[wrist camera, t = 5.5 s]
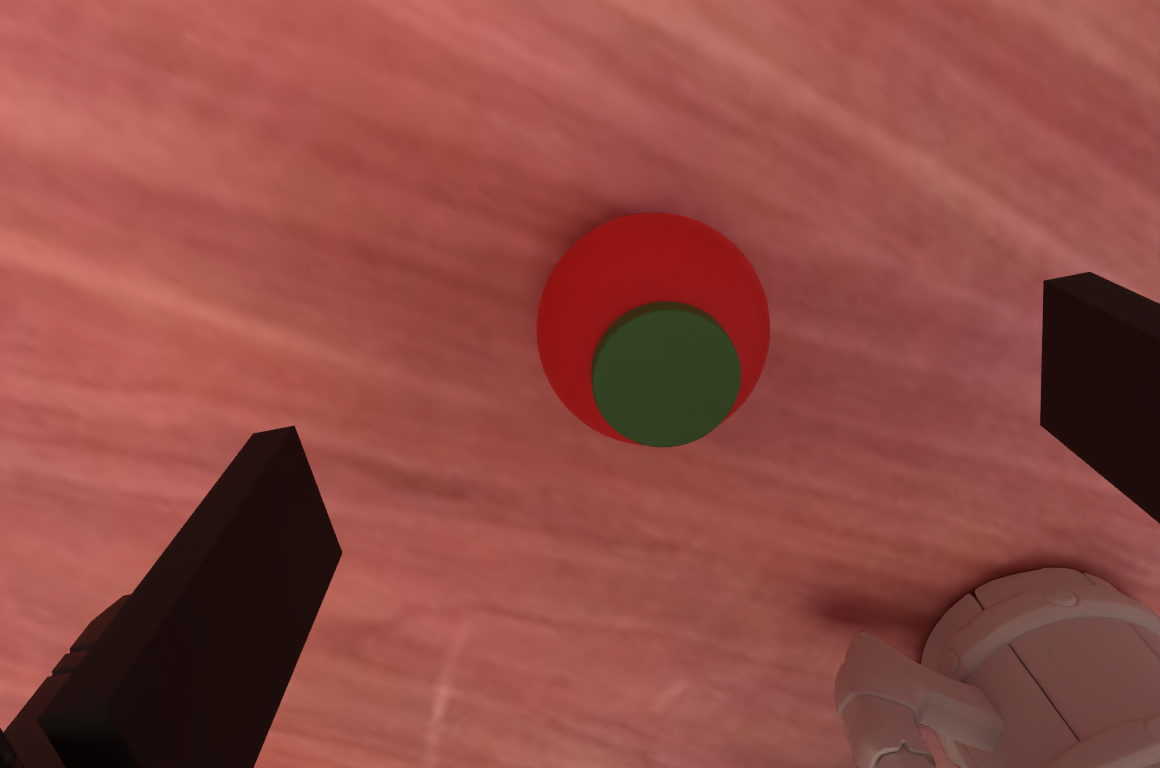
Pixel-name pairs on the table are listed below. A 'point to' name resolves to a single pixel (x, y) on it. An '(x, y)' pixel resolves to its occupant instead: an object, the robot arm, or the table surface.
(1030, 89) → the table surface
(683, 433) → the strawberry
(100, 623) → the robot arm
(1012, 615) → the mug
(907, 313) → the table surface
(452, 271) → the table surface
